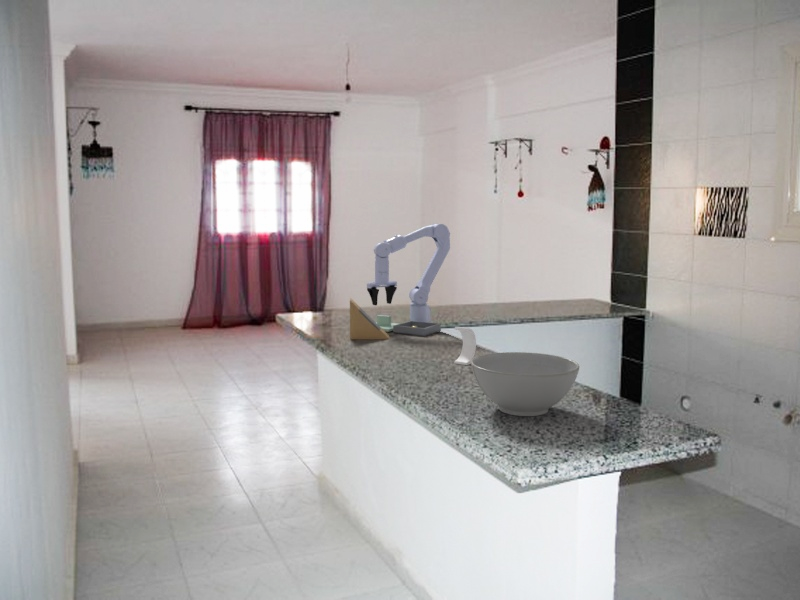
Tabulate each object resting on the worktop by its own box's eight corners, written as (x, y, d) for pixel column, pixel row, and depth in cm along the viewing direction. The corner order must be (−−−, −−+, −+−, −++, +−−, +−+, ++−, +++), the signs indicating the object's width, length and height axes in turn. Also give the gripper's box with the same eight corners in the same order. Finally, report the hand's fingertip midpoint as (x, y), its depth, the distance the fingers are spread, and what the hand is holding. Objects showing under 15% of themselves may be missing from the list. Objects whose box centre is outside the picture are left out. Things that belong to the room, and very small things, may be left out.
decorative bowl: (448, 405, 192) (449, 359, 191) (524, 391, 208) (525, 348, 206) (522, 432, 171) (523, 380, 169) (600, 413, 186) (602, 365, 184)
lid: (379, 324, 318) (379, 312, 318) (407, 327, 311) (407, 315, 310) (360, 329, 307) (360, 316, 306) (388, 332, 299) (388, 319, 298)
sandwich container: (390, 339, 286) (390, 300, 284) (349, 339, 285) (349, 300, 283) (389, 335, 294) (389, 297, 292) (350, 335, 293) (350, 297, 291)
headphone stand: (454, 363, 243) (454, 326, 241) (463, 360, 248) (464, 324, 246) (466, 365, 240) (467, 328, 239) (475, 362, 245) (476, 325, 243)
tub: (410, 328, 311) (410, 320, 310) (440, 330, 304) (440, 323, 303) (393, 333, 299) (393, 325, 298) (424, 336, 292) (424, 328, 291)
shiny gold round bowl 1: (413, 328, 307) (413, 325, 307) (418, 328, 306) (418, 326, 305) (410, 329, 305) (410, 326, 304) (415, 329, 304) (415, 326, 303)
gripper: (374, 273, 303) (374, 306, 305) (401, 271, 312) (401, 303, 314) (363, 272, 308) (363, 305, 310) (390, 270, 318) (390, 302, 320)
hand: (381, 304), depth 313 cm, fingers open, 7 cm apart
